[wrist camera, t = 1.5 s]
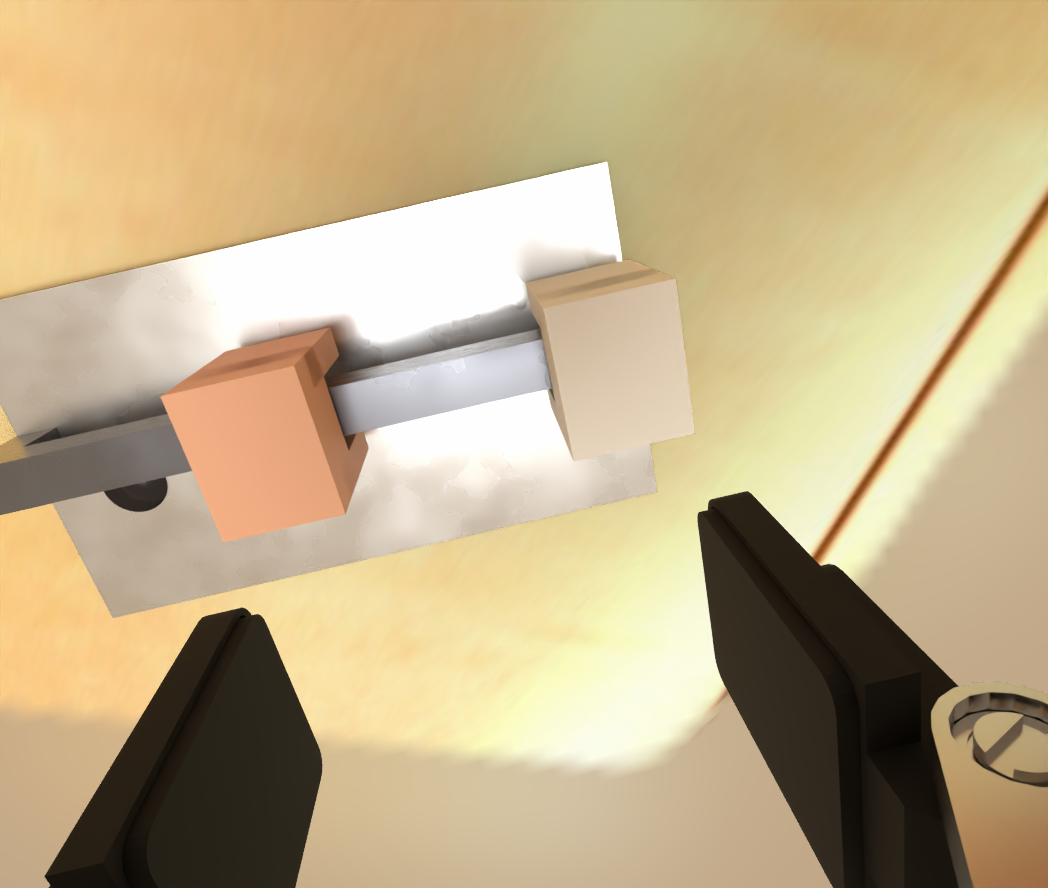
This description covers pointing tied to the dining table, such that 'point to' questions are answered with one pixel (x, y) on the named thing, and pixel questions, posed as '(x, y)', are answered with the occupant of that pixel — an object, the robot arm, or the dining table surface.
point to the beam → (358, 398)
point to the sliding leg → (267, 436)
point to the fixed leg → (614, 357)
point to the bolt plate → (362, 342)
